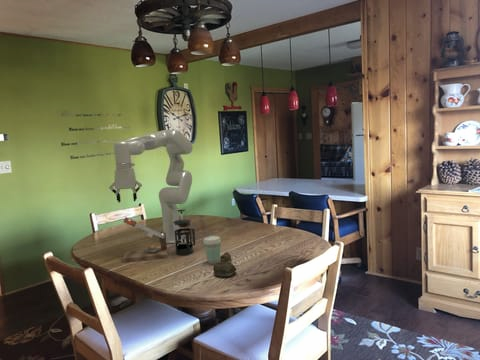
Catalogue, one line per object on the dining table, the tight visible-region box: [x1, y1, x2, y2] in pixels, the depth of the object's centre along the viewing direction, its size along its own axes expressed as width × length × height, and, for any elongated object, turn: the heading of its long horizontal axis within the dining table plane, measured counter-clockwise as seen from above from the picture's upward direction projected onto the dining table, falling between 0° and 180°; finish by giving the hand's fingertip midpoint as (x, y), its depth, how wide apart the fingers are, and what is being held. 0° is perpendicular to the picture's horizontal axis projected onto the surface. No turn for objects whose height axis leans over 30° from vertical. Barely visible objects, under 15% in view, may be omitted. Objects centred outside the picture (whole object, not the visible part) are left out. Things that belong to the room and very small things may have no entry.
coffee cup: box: [202, 235, 222, 265], centre depth 180 cm, size 8×8×12 cm
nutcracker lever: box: [123, 216, 165, 239], centre depth 193 cm, size 22×3×4 cm, turn 100°
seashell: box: [212, 251, 237, 278], centre depth 163 cm, size 11×12×10 cm
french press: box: [173, 209, 196, 256], centre depth 197 cm, size 12×9×23 cm
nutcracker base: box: [122, 232, 169, 263], centre depth 194 cm, size 22×12×11 cm, turn 99°
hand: (127, 201), depth 190 cm, fingers open, 6 cm apart
